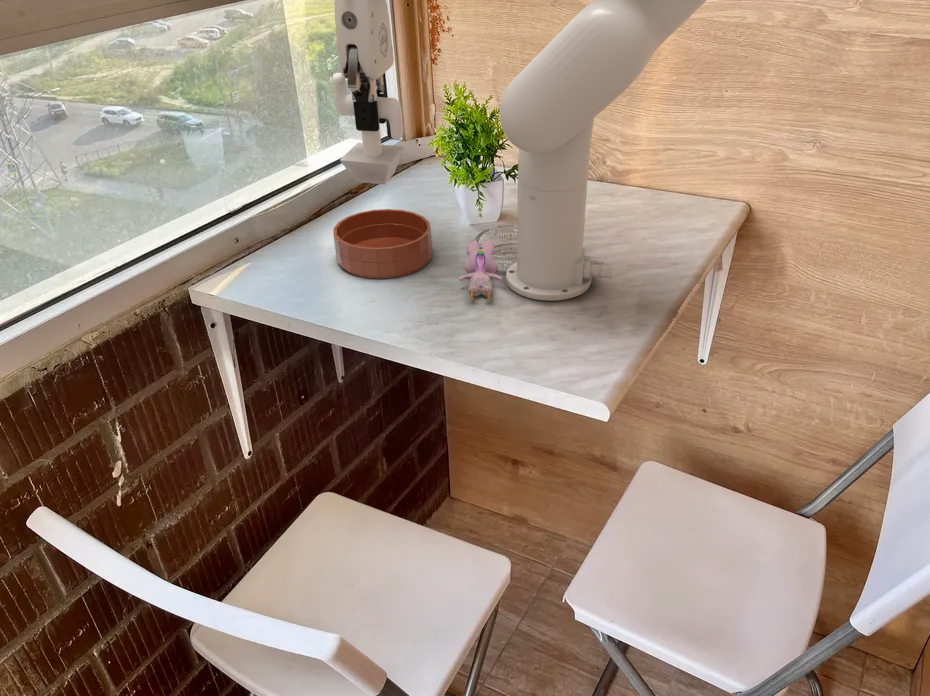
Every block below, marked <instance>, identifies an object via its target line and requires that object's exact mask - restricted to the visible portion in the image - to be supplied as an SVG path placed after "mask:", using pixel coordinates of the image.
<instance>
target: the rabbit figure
mask: <svg viewBox="0 0 930 696" xmlns="http://www.w3.org/2000/svg"><path fill="white" fill-rule="evenodd" d="M466 253H467V255H468V257H467V259H466V261H464V264H463V266H462V268H463V270H464V271H465V273H466V274H463V275H461V276H459V277H458V280H459V281H464V280H465V279H470V280H469V281H468V287H467V288H468V289H467V292H468V294H469V296H470V297H469V300H468V302H473V301H474V302H476V299H475V298H476V297H478V296H479V295H482V296H484V297H485V298H486V300H485V302H487V301H489V304H491V301H493V298H492V295H493V293H494V284H493V281H492V279H497V280H498V281H503V277H502V276H501V275H498V274H496V272H497V270H498V269H499V265H498V263H497V261H496V260H495V259H494V257H493V256H494V253H495V245H494V242H492V241H491V240H489V239H485V240H483V242H482V243H481V248H480V243H479V242H478V240H476V239H474V240H472V239H471V240H470V241H469V242H468V243H467V245H466Z"/></svg>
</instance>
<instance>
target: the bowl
mask: <svg viewBox="0 0 930 696" xmlns="http://www.w3.org/2000/svg"><path fill="white" fill-rule="evenodd" d="M332 230H333V234H332V235H333V243H334V249H335V257H336V261H337V263H338V264H339V266H340V267H341V268H342V269H343V270H345V271H346V273H348V274H349V273H350V274H351V275H354V276H357V277H361V278H366V279H393V278H399V277H405V276H407V275H410V274H413V273H416V272H418V271H419V270H421V269H423V268H424V267H425V266H426V265H427V264H428V262H430V259H431V257H432V256H433V243H432V242H433V241H432V227H431V222H430V221H429V220H428V219H427V218H426V217H425V216H423V215H421V214H418V213H416V212H414V211H408V210H404V209H395V208H393V209H392V208H381V209H370V210H365V211H360V212H356V213H354V214H351V215H348V216H346V217H344V218H343V219H341V220H339V221H338V222H337V223H336V225H335V226H334V227H333V229H332Z"/></svg>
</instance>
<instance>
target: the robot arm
mask: <svg viewBox="0 0 930 696" xmlns="http://www.w3.org/2000/svg"><path fill="white" fill-rule="evenodd" d="M333 1H334V2H333V3H334V24H335V36H336V49H337V55H338V56H337V58H338V64H339V71H340V73H341V74H342V75H343V77H345V80H347V90H349V91H350V92H351V95H352V100H353V105H354V114H355V116H354V121H355V123H354V124H355V129H356V131H358V132H361V131H378V130H379V125H381V124H383V125H384V124H385V123H386V122H387V119H385V118H379V117H378V107H377V101H374V88H373V80H376V85H377V87H378V88H377V90H376V93H377V96H378V97H385V93H384V92H385V83H384V74H385V73H387V71H388V70H389V69H391V67H392V66H393V65H394V62H395V57H394V47H393V39H392V29H391V23H390V16H389V15H390V14H389V9H388V8H389V7H388V3H387V0H333ZM707 1H708V0H592V1H591V2H590V3H588V4H587V5H586V6H585V7H584V8H582V9H581V10H580V11H579V12H578V13H577V14H576V15H575V16H574V17H573V18H572V19H571V20H570V21H569V22H568V23H567V24H566V25H565V26H564V27H563V28H562V29H561V30H560V31H559V32H558V34H556V36H554V37H553V38H552V39H551V41H550V42H548V44H547V45H545V47H543V48H542V50H541V51H540V52H538V54H537V55H536V56H534V58H533V59H532V60H531V61H530V62H529V63H528V64H527V65H526V66H525V67H524V68H523V69H522V70H521V71H520V72H519V73H518V74H517V75H516V76H515V77H514V78H513V79H512V80H511V81H510V83H508V85H507V86H506V87H505V89H504V91H503V94H502V95H501V96H502V97H501V99H500V104H499V122H500V127H501V129H502V131H503V134H504V135H505V137H506V139H507V140H508V141H509V142H510V143H511V144H512V145H513V146H515V147H516V148H518V161H517V212H516V213H517V215H516V217H517V219H516V224H517V225H516V227H517V228H516V262H513V263H512V264H510V266H509V267H508V268H507V269H506V272H505V282H506V284H507V286H508V287H509V289H510V290H512V291H513V292H514V293H516V294H518V295H520V296H522V297H525V298H529V299H533V300H537V301H549V302H550V301H551V302H556V301H565V300H569V299H573V298H576V297H578V296H580V295H582V294H584V293H585V292H586V291H588V289H590V287H591V284H592V277H594V278H600V279H613V269H614V265H613V264H606V258H592V257H590V256H589V255H586V248H587V247H585V246H584V238H585V237H584V236H585V221H586V206H587V192H588V181H589V166H590V153H591V146H592V145H591V143H592V135H593V129H594V121H595V118H596V117H597V116H598V115H600V114H601V113H602V112H603V111H604V110H605V109H606V108H607V107H609V106H610V104H612V103H613V102H614V101H615V100H617V98H618V97H620V95H622V94H623V93H624V92H625V91H626V90H627V89H628V88H629V87H630V86H631V85H632V84H633V83H634V82H635V81H636V80H637V79H638V77H640V75H641V74H642V72H643V71H644V70H645V68H646V67H647V65H648V63H649V62H650V61H651V59H652V57H653V56H654V54H655V52H656V51H657V50H658V49H659V47H660V46H661V45H662V44H663V43H664V42H665V41H666V40H667V39H669V38H670V37H671V36H672V35H673V34H674V33H675V32H676V31H677V30H678V29H679V28H681V26H682V25H683V24H685V22H687V21H688V19H690V18H691V16H693V15H694V13H696V12H697V11H698V10H699V8H701V7H702V6H703V5H704V4H705V3H706V2H707ZM360 73H365V75H366V76H367V77H364V76H360ZM361 82H363V83H367V88H366V86H365V84H361Z"/></svg>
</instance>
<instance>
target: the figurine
mask: <svg viewBox="0 0 930 696" xmlns="http://www.w3.org/2000/svg"><path fill="white" fill-rule="evenodd" d="M360 76H364V77H367V76H366V75H365V73H360ZM331 83H332V92H333V99H334V105H335V109H336V111H337V113H338V114H339V115H341V116H348V117H355V114H354V105H353V100H352V94H349V92H348V87H347V81H346V78H345V77H343V75H342V74H341V72H336V73H333V75H332V77H331ZM361 84H365V86H366V88H367V83H363V82H361ZM373 88H374V101H377V107H378V117H379V118H385V119H386V120H387V121H388V123H389V126H390V136H391V137H392V139H395V140H400V139H401V138H403V136H404V121H403V109H402V105H401V102H400V101H399V100H398V99H397V98H395V97H385V96H384V97H378V96H377V93H376V90H377V88H378V87H377V85H376V80H373ZM380 125H381V124H379V130H378V131H360V132H361V139H362V140H361V141H362V142H357V143H356V144H355V145H354V146H352V147H351V148H350V150H348V151H347V152H346V153H345V154H344V155H343V156H342V157H341V158H340V159H339V161H340V163H341V164H342V165H343V166H344V168H345V169H346V171H347V172H348V173H349V174H350V176H351V177H352V178H353V180H354V181H355V182H356V183H362V184H363V183H364V184H375V185H386V184H387V183H388V181H389V180H390V179H391V178H392V177H393V175H394V174H395V173H396V170H397V168H398V165H399V163H400V160H401V158H402V155H403V152H404V150H405V146H402V145H392V144H382V138H381V137H382V136H381V126H380Z"/></svg>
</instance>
